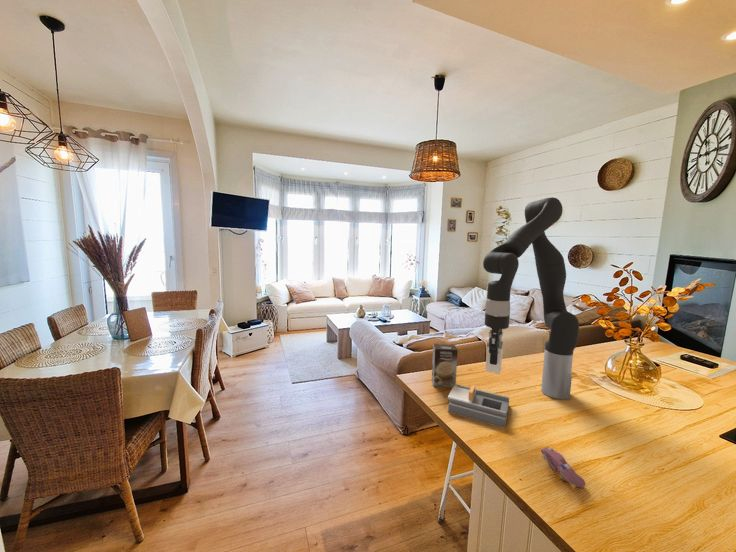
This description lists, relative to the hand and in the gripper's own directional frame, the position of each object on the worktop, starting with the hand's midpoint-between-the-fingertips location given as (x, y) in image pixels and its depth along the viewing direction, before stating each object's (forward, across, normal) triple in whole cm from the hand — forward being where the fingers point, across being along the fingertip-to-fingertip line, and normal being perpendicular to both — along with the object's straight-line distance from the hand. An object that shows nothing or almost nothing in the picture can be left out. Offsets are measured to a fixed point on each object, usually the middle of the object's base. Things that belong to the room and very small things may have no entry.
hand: (494, 361), depth 101 cm
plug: (+3, 0, 0) cm, 3 cm away
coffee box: (+19, -12, -20) cm, 30 cm away
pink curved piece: (+19, +21, +19) cm, 34 cm away
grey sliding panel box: (+18, 0, -4) cm, 19 cm away
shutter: (+15, 0, -10) cm, 18 cm away
